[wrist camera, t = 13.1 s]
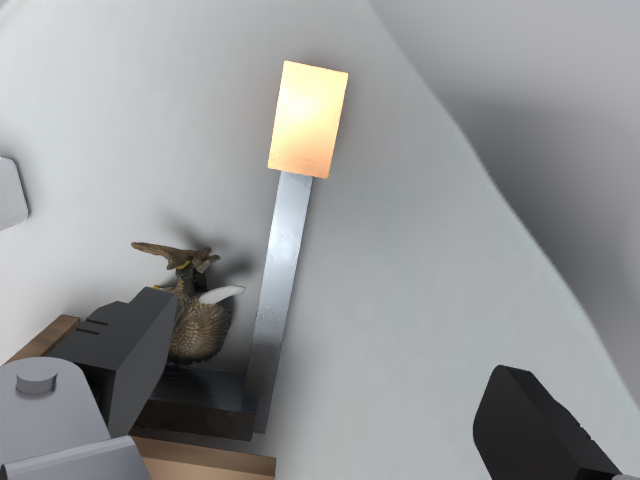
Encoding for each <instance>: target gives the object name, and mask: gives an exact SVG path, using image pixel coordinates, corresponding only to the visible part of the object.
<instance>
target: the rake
mask: <svg viewBox="0 0 640 480" xmlns="http://www.w3.org/2000/svg"><path fill="white" fill-rule="evenodd" d="M347 79H348V73H343V72H339V71H334V70H329V69H324V68H319V67H314V66H310V65H305V64H300V63H295V62H290V61H285V62H284V68H283V74H282V81H281V87H280V93H279V99H278V105H277V112H276V118H275V124H274V130H273V137H272V143H271V149H270V155H269V161H268V168H272V169H277V170H281V174H280V180H279V186H278V192H277V197H276V203H275V209H274V215H273V221H272V227H271V233H270V239H269V245H268V251H267V257H266V263H265V268H264V274H263V280H262V286H261V292H260V298H259V304H258V310H257V316H256V322H255V328H254V334H253V339H252V345H251V351H250V357H249V363H248V369H247V375H246V376H242V375H235V374H228V373H222V372H215V371H208V370H202V369H195V368H188V367H182V366H175V365H168V364H165V367H164V370H163V373H162V375H161V377H160V379H159V381H158V383H157V384H156V386H155V388H154V390H153V391H152V393H151V395H150V397H149V398H148V400H147V402H146V403H145V405H144V407H143V409H142V410H141V412H140V414H139V416H138V417H137V419H136V421H135V423H134V424H133V425H135V426H142V427H150V428H157V429H164V430H171V431H179V432H186V433H193V434H200V435H208V436H215V437H222V438H229V439H237V440H244V441H251V439H252V434H253V432H254V433H262V434H265V430H266V424H267V419H268V414H269V408H270V403H271V398H272V392H273V387H274V382H275V377H276V371H277V366H278V361H279V355H280V350H281V345H282V339H283V334H284V329H285V323H286V318H287V313H288V307H289V302H290V297H291V291H292V286H293V281H294V275H295V270H296V265H297V259H298V254H299V249H300V243H301V238H302V233H303V227H304V222H305V217H306V212H307V206H308V201H309V196H310V190H311V185H312V180H313V176H315V177H320V178H325V179H328V175H329V170H330V165H331V160H332V155H333V150H334V145H335V140H336V135H337V129H338V124H339V119H340V114H341V109H342V104H343V99H344V94H345V89H346V84H347Z"/></svg>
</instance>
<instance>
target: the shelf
mask: <svg viewBox="0 0 640 480" xmlns="http://www.w3.org/2000/svg"><path fill="white" fill-rule="evenodd" d="M79 321H80V318H76V317H71V316H65V315H60V316H59V317H58V318H57V319H56V320H55V321H53V322H52V323H51V324H50V325H49V326H48V327H46V328H45V329H44V330H43V331H42V332H41V333H39V334H38V335H37V336H36V337H35V338H34V339H32V340H31V341H30V342H29V343H28V344H27V345H25V346H24V347H23V348H22V349H21V350H20V351H18V352H17V353H16V354H15V355H14V356H13V357H11V358H10V359H9V360H8V361H7V362H6V363H4V364H3V365H5V364H7V363H10V362H13V361H16V360H20V359H25V358H32V357H45V356H46V355H47V354H48V353H49V352H50V351H52V350H53V349H54V348H55V347H56V346H57V345H58V344H59V343H60V342H61V341H63V340H64V339H65V338H66V337H67V336H68V335H69V334H70V333H71V332H72V331H74V330H76V328H77V327H78V326H79ZM3 365H2V366H3ZM130 437H131V438H132V439H133V441H134V443H135V445H136V447H137V449H138V451H139V453H140V455H141V457H142V459H143V461H144V463H145V466H146V468H147V470H148V472H149V474H150V476H151V478H152V480H274V478H275V467H276V458H272V457H265V456H259V455H252V454H246V453H240V452H233V451H227V450H220V449H214V448H207V447H201V446H194V445H188V444H181V443H175V442H168V441H162V440H155V439H149V438H142V437H136V436H130Z"/></svg>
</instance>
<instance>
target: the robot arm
mask: <svg viewBox="0 0 640 480" xmlns="http://www.w3.org/2000/svg"><path fill="white" fill-rule="evenodd" d="M177 302H178V295H177V293H174V292H169V291H165V290H160V289H156V288H151V287H147V286H146V287H144V288H143V289H142V290H141V291H140V292H139V293H138V294H137V296H136V297H135V298H134V299H133V300H132V301H131V302H130V303H129V304H128V303H123V302H119V301H116V302H113V303H111V304H108V305H105V306H103V307H100V308H98V309H97V310H95V311H94V312H93V313H92V314H91V315H90V316H89V317H88V318H87V319H86V321H83V322H82V323H81V324H80V325H79V326H78V327H77V328H76V330H74V331H72V332H71V333H70V334H69V335H68V336H67V337H66V338H65V339H64V340H63V341H61V342H60V343H59V344H58V345H57V346H56V347H55V348H54V349H53V350H52V351H50V352H49V353H48V354H47V355H46V356H45V357H32V358H25V359H20V360H16V361H13V362H10V363H7V364H5V365H3V366H1V367H0V480H152V478H151V476H150V474H149V472H148V470H147V468H146V466H145V463H144V461H143V459H142V457H141V455H140V453H139V451H138V449H137V447H136V445H135V443H134V441H133V439H132V438H131V437H130V436H129V435H128V433H129V431H130V430H131V428H132V426H133V424H134V423H135V421H136V419H137V417H138V416H139V414H140V412H141V410H142V409H143V407H144V405H145V403H146V402H147V400H148V398H149V397H150V395H151V393H152V391H153V390H154V388H155V386H156V384H157V383H158V381H159V379H160V377H161V375H162V373H163V370H164V367H165V364H166V361H167V357H168V352H169V347H170V341H171V336H172V330H173V325H174V319H175V314H176V308H177ZM473 438H474V442H475V445H476V447H477V449H478V451H479V453H480V455H481V457H482V459H483V462H484V464H485V466H486V468H487V470H488V472H489V474H490V476H491V478H492V480H640V478H637V477H634V476H629V475H623V474H622V473H621V472H620V471H619V469H618V468H617V467H616V466H615V465H614V464H613V462H612V461H611V460H610V459H609V458H608V457H607V455H606V454H605V453H604V452H603V451H602V449H601V448H600V447H599V446H598V445H597V444H596V442H595V441H594V440H591V437H590V435H589V434H588V433H587V432H586V431H585V430H584V428H582V427H580V424H579V423H578V421H577V420H576V419H575V418H574V417H573V416H572V414H571V413H570V412H569V411H568V410H567V409H566V408H565V407H563V406H562V405H561V404H559V403H558V402H557V401H556V400H554V398H553V397H552V396H551V395H550V394H549V392H548V391H547V390H546V389H545V388H544V387H543V385H542V384H541V383H540V382H539V381H538V379H537V378H536V377H535V376H534V375H533V374H532V373H531V372H530V371H526V370H522V369H517V368H513V367H508V366H503V365H498V366H497V367H495V369H494V370H493V372H492V374H491V376H490V379H489V381H488V384H487V387H486V389H485V392H484V395H483V397H482V400H481V402H480V405H479V408H478V410H477V413H476V416H475V419H474V423H473Z"/></svg>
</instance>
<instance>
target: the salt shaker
mask: <svg viewBox="0 0 640 480" xmlns="http://www.w3.org/2000/svg"><path fill="white" fill-rule="evenodd" d="M27 217H28V209H27V205H26V201H25V198H24V194H23V190H22V186H21V183H20V179H19V175H18V172H17V168H16V165H15V164H14V162H13V161H12V160H10V159H7V158H4V157H0V231H1V230H3V229H6V228H8V227H11V226H13V225H16V224H18V223H20V222H22V221H24V220H26V219H27Z"/></svg>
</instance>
